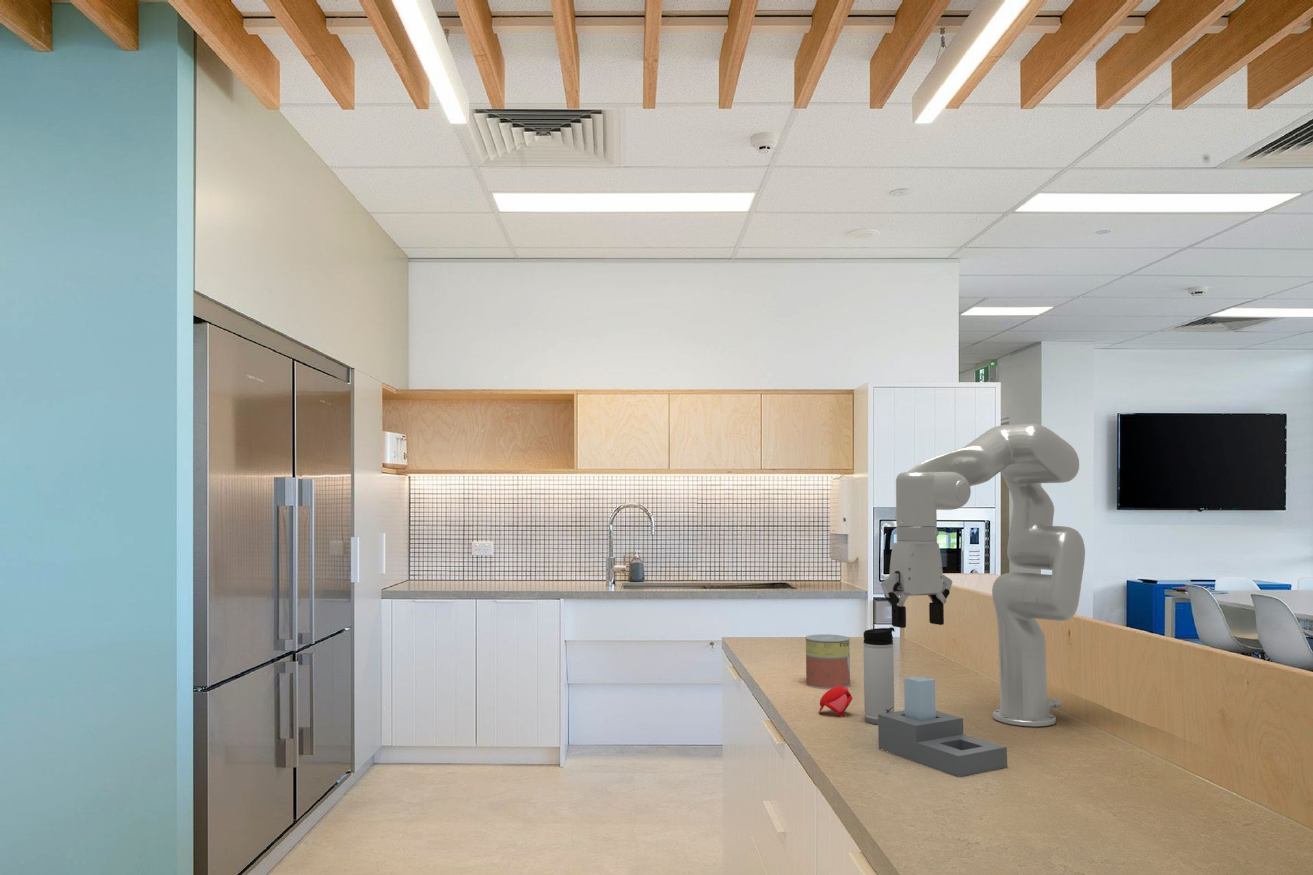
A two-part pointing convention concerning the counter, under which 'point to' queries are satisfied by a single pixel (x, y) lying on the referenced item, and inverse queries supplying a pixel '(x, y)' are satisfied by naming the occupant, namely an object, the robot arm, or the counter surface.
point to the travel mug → (878, 673)
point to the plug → (919, 698)
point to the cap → (836, 700)
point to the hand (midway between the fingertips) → (918, 625)
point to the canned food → (827, 661)
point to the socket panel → (939, 744)
